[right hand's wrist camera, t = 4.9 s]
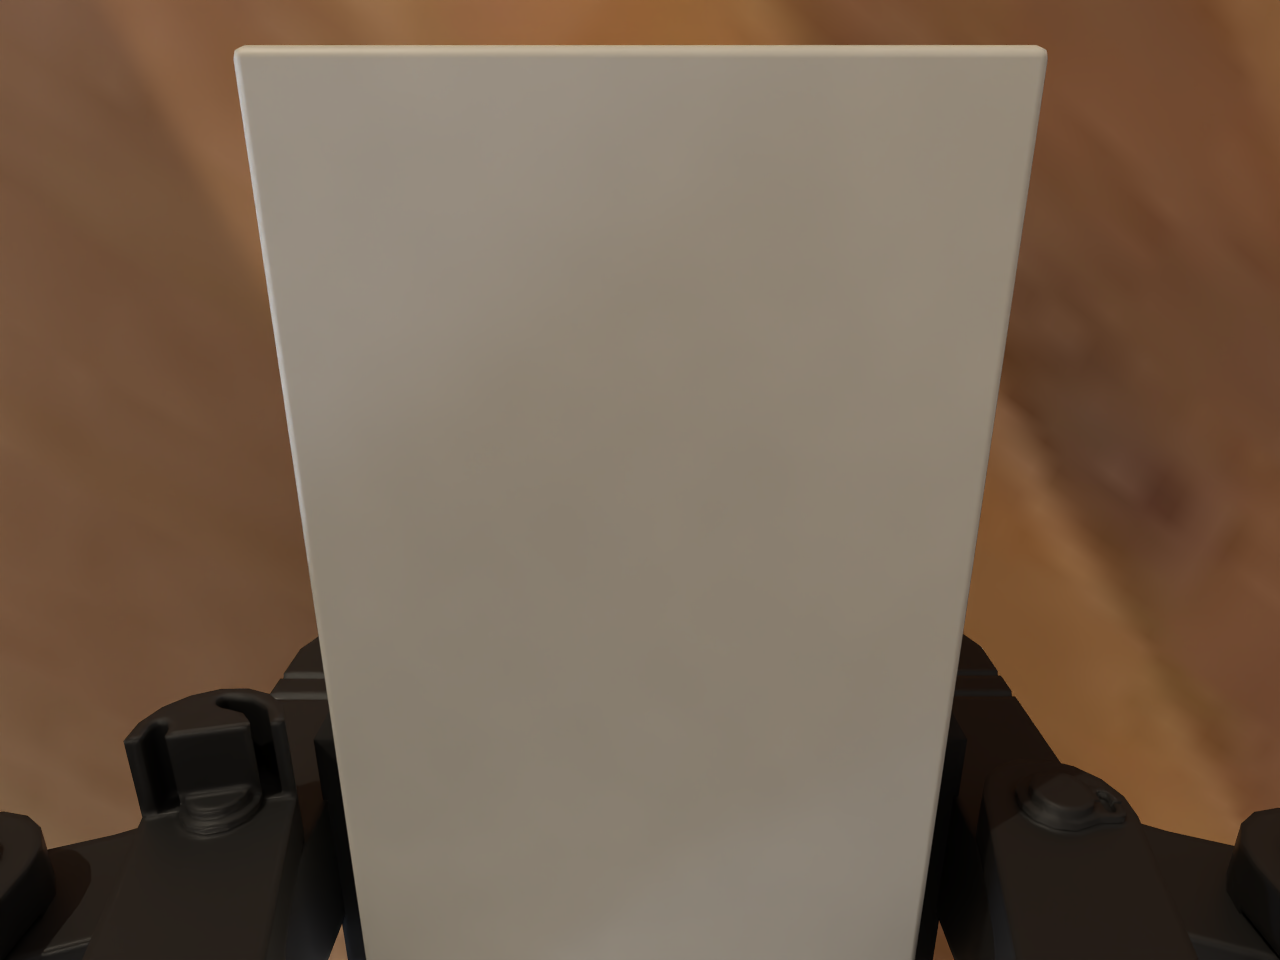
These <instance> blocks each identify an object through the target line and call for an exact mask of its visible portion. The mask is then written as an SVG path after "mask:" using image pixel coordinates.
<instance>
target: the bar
mask: <svg viewBox="0 0 1280 960" xmlns="http://www.w3.org/2000/svg"><path fill="white" fill-rule="evenodd" d="M1047 60H1048V57H1047V50H1045V49H1044V48H1042V47H1039V46H1037V45H244V46H242V47H240V48H238V49H236V50H235V52H234V65H235V72H236V78H237V85H238V92H239V99H240V105H241V112H242V119H243V126H244V133H245V139H246V146H247V153H248V160H249V167H250V173H251V180H252V187H253V194H254V201H255V207H256V214H257V221H258V228H259V234H260V241H261V248H262V255H263V262H264V268H265V275H266V282H267V289H268V296H269V302H270V309H271V316H272V323H273V330H274V336H275V343H276V350H277V357H278V363H279V370H280V377H281V384H282V391H283V397H284V404H285V411H286V418H287V425H288V431H289V438H290V445H291V452H292V459H293V465H294V472H295V479H296V486H297V492H298V499H299V506H300V513H301V520H302V526H303V533H304V540H305V547H306V554H307V560H308V567H309V574H310V581H311V588H312V594H313V601H314V608H315V615H316V622H317V628H318V635H319V642H320V649H321V655H322V662H323V669H324V676H325V683H326V689H327V696H328V703H329V710H330V717H331V723H332V730H333V737H334V744H335V751H336V757H337V764H338V771H339V778H340V784H341V791H342V798H343V805H344V812H345V818H346V825H347V832H348V839H349V846H350V852H351V859H352V866H353V873H354V880H355V886H356V893H357V900H358V907H359V913H360V920H361V927H362V934H363V941H364V947H365V954H366V960H915V955H916V948H917V941H918V934H919V927H920V921H921V914H922V907H923V900H924V894H925V887H926V880H927V873H928V866H929V860H930V853H931V846H932V839H933V833H934V826H935V819H936V812H937V805H938V799H939V792H940V785H941V778H942V772H943V765H944V758H945V751H946V744H947V738H948V731H949V724H950V717H951V711H952V704H953V697H954V690H955V683H956V677H957V670H958V663H959V656H960V650H961V643H962V636H963V629H964V622H965V616H966V609H967V602H968V595H969V588H970V582H971V575H972V568H973V561H974V555H975V548H976V541H977V534H978V527H979V521H980V514H981V507H982V500H983V494H984V487H985V480H986V473H987V466H988V460H989V453H990V446H991V439H992V433H993V426H994V419H995V412H996V405H997V399H998V392H999V385H1000V378H1001V372H1002V365H1003V358H1004V351H1005V344H1006V338H1007V331H1008V324H1009V317H1010V311H1011V304H1012V297H1013V290H1014V283H1015V277H1016V270H1017V263H1018V256H1019V250H1020V243H1021V236H1022V229H1023V222H1024V216H1025V209H1026V202H1027V195H1028V189H1029V182H1030V175H1031V168H1032V161H1033V155H1034V148H1035V141H1036V134H1037V128H1038V121H1039V114H1040V107H1041V100H1042V94H1043V87H1044V80H1045V73H1046V67H1047Z"/></svg>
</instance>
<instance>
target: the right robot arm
mask: <svg viewBox="0 0 1280 960" xmlns="http://www.w3.org/2000/svg"><path fill="white" fill-rule="evenodd" d="M124 745H125V749H126V753H127V757H128V761H129V765H130V769H131V773H132V777H133V781H134V785H135V789H136V793H137V797H138V801H139V805H140V809H141V813H142V819H141V822H140V824H139V827H138V828H136V829H133V830H129V831H126V832H123V833H119V834H116V835H112V836H107V837H102V838H98V839H93V840H89V841H84V842H80V843H75V844H71V845H66V846H62V847H57V848H53V849H48V850H47V847H46V844H45V840H44V837H43V834H42V830H41V827H40V826H38V825H37V824H36V823H35V822H34V821H33V820H32V819H31V818H29V817H28V816H26V815H20V814H14V813H9V812H0V960H328V958H329V956H330V953H331V951H332V948H333V945H334V943H335V940H336V938H337V935H338V933H339V930H340V927H341V925H343V931H344V938H345V944H346V951H347V957H348V960H366V954H365V947H364V941H363V934H362V927H361V920H360V913H359V907H358V900H357V893H356V886H355V880H354V873H353V866H352V859H351V852H350V846H349V839H348V832H347V825H346V818H345V812H344V805H343V798H342V791H341V784H340V778H339V771H338V764H337V757H336V751H335V744H334V737H333V730H332V723H331V717H330V710H329V703H328V696H327V689H326V683H325V676H324V669H323V662H322V655H321V649H320V642H319V637H317V638H316V639H314V640H313V641H311V642H310V643H309V644H307V645H306V646H304V647H303V648H301V649H300V651H299V652H298V654H297V655H296V657H295V658H294V659H293V661H292V662H291V664H290V665H289V667H288V668H287V670H286V671H285V673H284V678H283V679H280V680H279V682H278V683H277V684H276V686H275V687H274V689H273V690H272V692H271V693H270V694H267V693H264V692H260V691H256V690H252V689H219V690H214V691H210V692H205V693H200V694H196V695H191V696H189V697H186V698H184V699H181V700H179V701H176V702H174V703H172V704H169V705H167V706H164V707H162V708H160V709H159V710H157V711H156V712H154V713H153V714H151V715H150V716H148V717H147V718H145V719H144V720H142V721H141V722H139V723H138V724H137V726H136V727H135V728H134V729H133V730H132V732H131V733H130V734H129V735H128V736H127V738H126V739H125V740H124ZM939 921H940V924H941V926H942V929H943V931H944V934H945V937H946V939H947V942H948V944H949V947H950V950H951V952H952V955H953V957H954V960H1280V808H1275V809H1269V810H1263V811H1258V812H1254V813H1253V814H1252V815H1251V816H1249V817H1248V818H1247V819H1246V820H1245V821H1244V822H1243V823H1241V826H1240V830H1239V833H1238V836H1237V840H1236V843H1235V846H1232V845H1227V844H1223V843H1218V842H1214V841H1209V840H1205V839H1200V838H1195V837H1191V836H1186V835H1182V834H1177V833H1173V832H1168V831H1165V830H1161V829H1158V828H1154V827H1151V826H1147V825H1144V824H1141V823H1140V820H1139V818H1138V816H1137V814H1136V813H1135V812H1134V810H1133V809H1132V807H1131V806H1130V805H1129V803H1128V802H1127V800H1126V799H1125V797H1124V796H1122V795H1121V794H1120V793H1119V792H1117V791H1116V790H1115V789H1113V788H1112V787H1111V786H1109V785H1108V784H1107V783H1106V782H1104V781H1103V780H1102V779H1100V778H1098V777H1095V776H1093V775H1091V774H1089V773H1087V772H1085V771H1083V770H1080V769H1078V768H1076V767H1074V766H1070V765H1066V764H1062V763H1060V761H1059V760H1058V758H1057V757H1056V755H1055V754H1054V753H1053V751H1052V750H1051V748H1050V747H1049V745H1048V744H1047V742H1046V741H1045V739H1044V738H1043V737H1042V735H1041V734H1040V732H1039V731H1038V729H1037V728H1036V726H1035V725H1034V723H1033V722H1032V720H1031V719H1030V718H1029V716H1028V715H1027V713H1026V712H1025V710H1024V709H1023V707H1022V706H1021V704H1020V703H1019V701H1018V700H1017V699H1016V697H1015V696H1012V694H1011V690H1010V688H1009V687H1008V685H1007V684H1006V682H1005V681H1004V680H1003V678H1002V677H1001V676H998V673H997V669H996V668H995V666H994V665H993V663H992V662H991V661H990V659H989V658H988V656H987V655H986V653H985V652H984V650H983V649H982V647H981V646H980V645H978V644H977V643H975V642H974V641H972V640H971V639H969V638H968V637H967V636H965V635H964V634H963V636H962V643H961V650H960V656H959V663H958V670H957V677H956V683H955V690H954V697H953V704H952V711H951V717H950V724H949V731H948V738H947V744H946V751H945V758H944V765H943V772H942V778H941V785H940V792H939V799H938V805H937V812H936V819H935V826H934V833H933V839H932V846H931V853H930V860H929V866H928V873H927V880H926V887H925V894H924V900H923V907H922V914H921V921H920V927H919V934H918V941H917V948H916V955H915V960H933V955H934V948H935V942H936V936H937V929H938V923H939Z"/></svg>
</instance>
